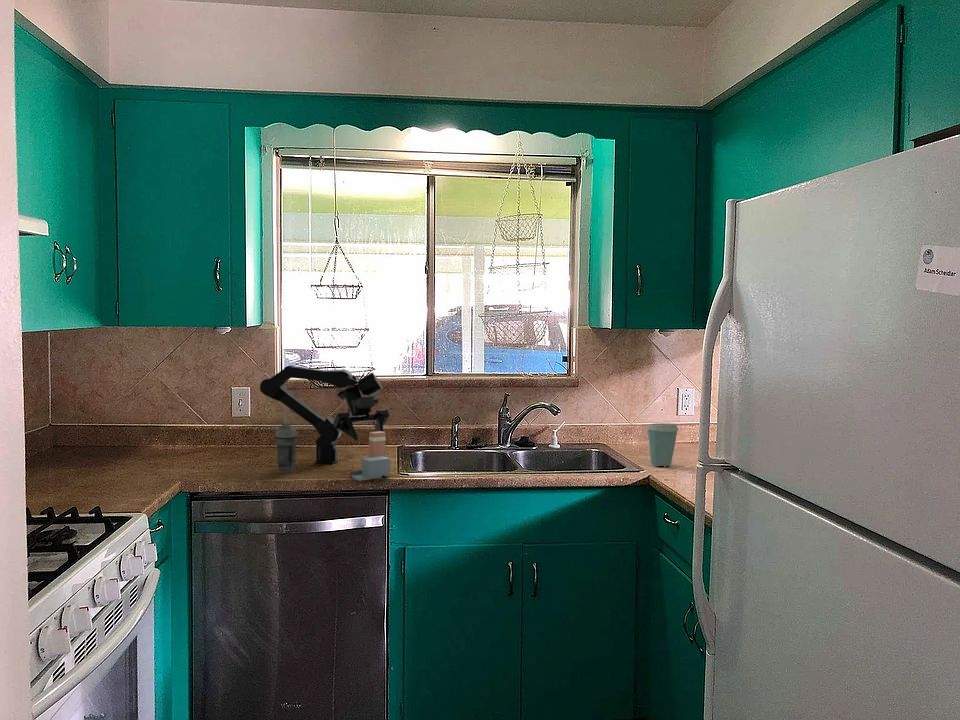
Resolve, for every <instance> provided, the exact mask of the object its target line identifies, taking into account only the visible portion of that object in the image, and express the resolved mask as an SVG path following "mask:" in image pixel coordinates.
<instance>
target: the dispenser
mask: <svg viewBox="0 0 960 720" xmlns="http://www.w3.org/2000/svg"><path fill="white" fill-rule="evenodd" d="M349 474H350V478H351V477H352V478H351V479H354V480H356V481H358V482H359V481H361V482H362V481H369V480H375V479H376V480H377V479H382V478H383V476H389V475H391V458H390V457H387V456H386V455H385V456H377V457H369V456H368V457H362V458H361V469H357V470H356V469H355V470H350V471H349Z"/></svg>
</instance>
